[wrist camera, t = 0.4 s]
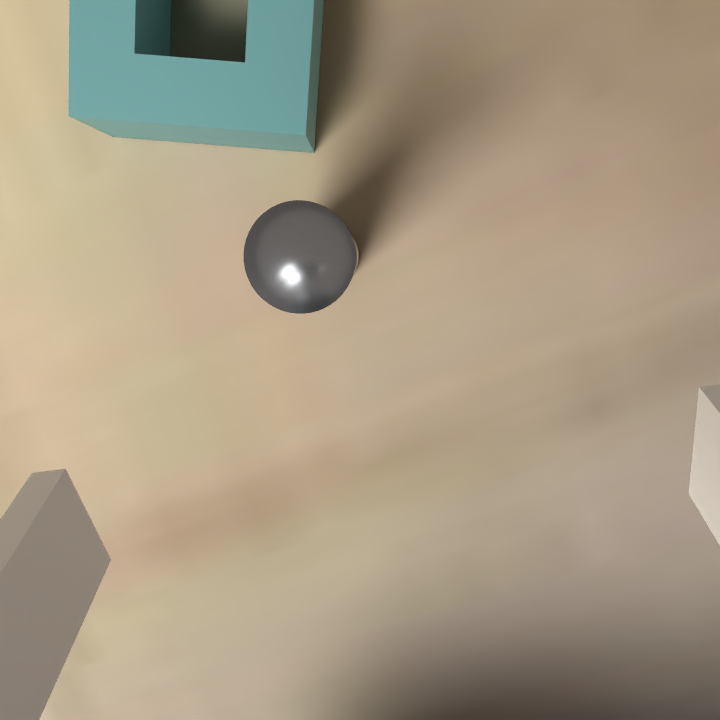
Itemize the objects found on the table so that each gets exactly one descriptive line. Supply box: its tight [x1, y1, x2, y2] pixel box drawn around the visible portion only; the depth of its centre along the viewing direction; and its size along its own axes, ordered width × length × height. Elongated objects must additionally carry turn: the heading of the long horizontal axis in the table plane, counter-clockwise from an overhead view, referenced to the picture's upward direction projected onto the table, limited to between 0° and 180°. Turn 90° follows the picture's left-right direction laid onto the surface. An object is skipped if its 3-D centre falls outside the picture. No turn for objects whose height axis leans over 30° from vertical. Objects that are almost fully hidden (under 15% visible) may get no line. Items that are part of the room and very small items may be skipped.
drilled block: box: [69, 0, 324, 153], centre depth 30 cm, size 10×10×5 cm
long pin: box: [244, 200, 359, 313], centre depth 26 cm, size 3×3×15 cm
